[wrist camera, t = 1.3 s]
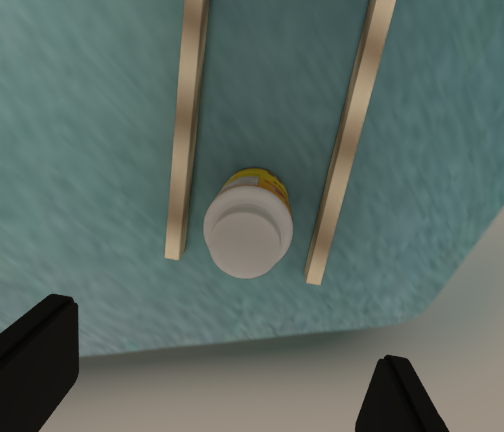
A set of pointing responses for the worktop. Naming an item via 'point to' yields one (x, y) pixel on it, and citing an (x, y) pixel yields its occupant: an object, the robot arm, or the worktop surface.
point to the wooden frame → (343, 149)
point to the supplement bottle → (249, 223)
